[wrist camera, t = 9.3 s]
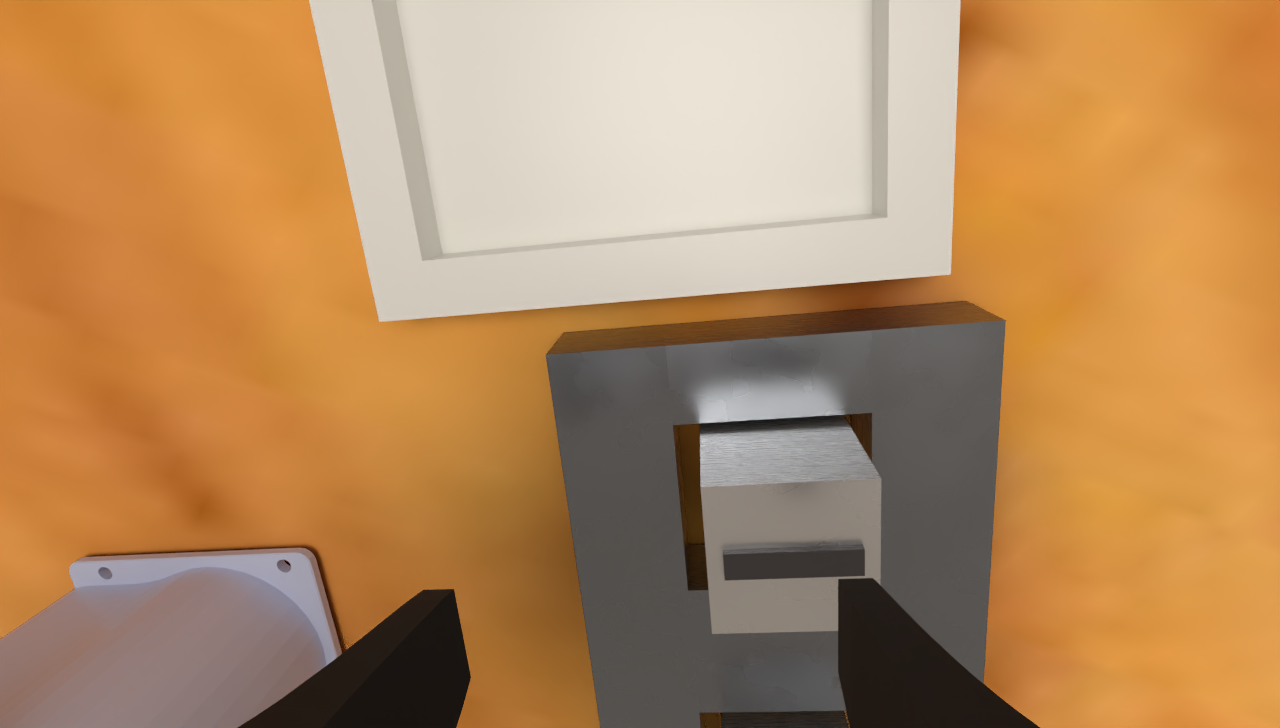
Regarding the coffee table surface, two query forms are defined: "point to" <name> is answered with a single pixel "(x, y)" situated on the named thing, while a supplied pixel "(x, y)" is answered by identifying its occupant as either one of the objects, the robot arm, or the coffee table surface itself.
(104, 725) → the robot arm
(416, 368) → the coffee table surface
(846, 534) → the block
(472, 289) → the white square tray
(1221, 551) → the coffee table surface
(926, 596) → the metal frame
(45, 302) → the coffee table surface
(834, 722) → the billet
